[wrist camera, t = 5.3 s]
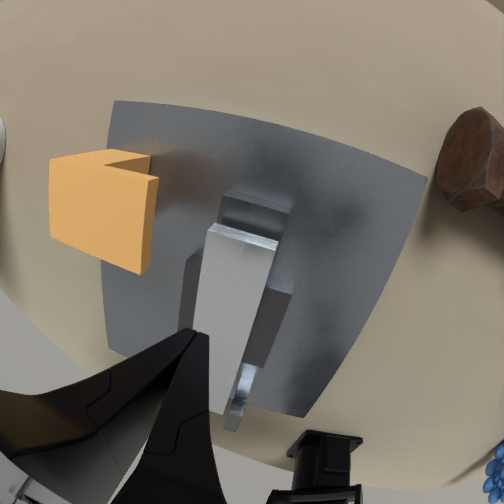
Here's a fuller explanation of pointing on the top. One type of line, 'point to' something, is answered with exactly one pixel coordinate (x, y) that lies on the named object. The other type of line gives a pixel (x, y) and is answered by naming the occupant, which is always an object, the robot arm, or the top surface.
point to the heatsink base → (310, 256)
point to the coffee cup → (2, 140)
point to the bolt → (473, 162)
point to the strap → (229, 301)
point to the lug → (104, 205)
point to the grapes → (495, 476)
